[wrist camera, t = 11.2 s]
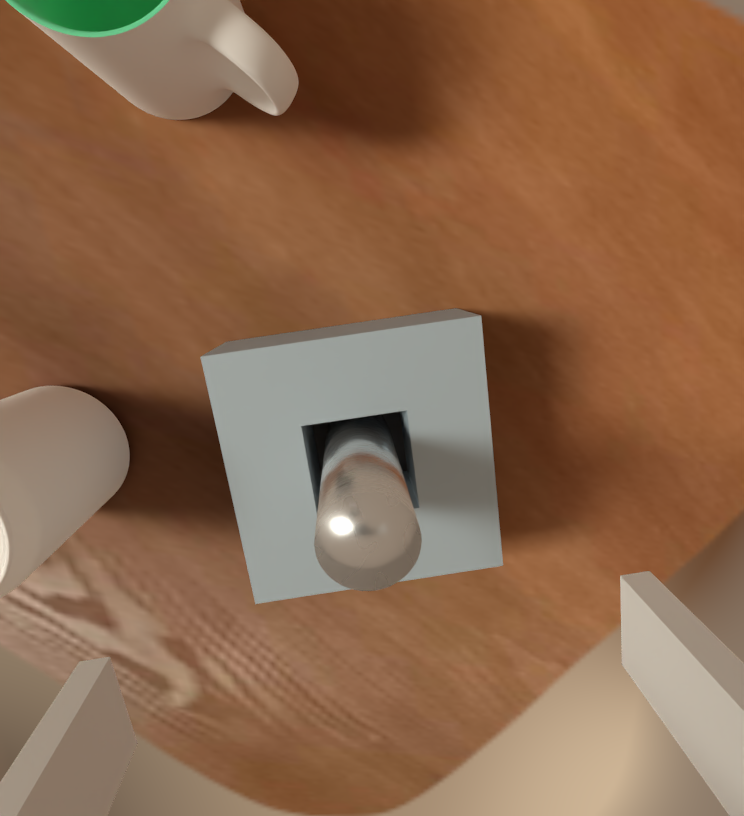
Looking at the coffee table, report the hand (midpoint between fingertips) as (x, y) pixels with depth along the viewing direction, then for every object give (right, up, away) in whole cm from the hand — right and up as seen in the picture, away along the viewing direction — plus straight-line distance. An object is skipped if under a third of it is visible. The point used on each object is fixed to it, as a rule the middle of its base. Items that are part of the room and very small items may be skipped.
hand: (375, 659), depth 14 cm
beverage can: (-19, +4, +20) cm, 28 cm away
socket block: (-1, +5, +20) cm, 21 cm away
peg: (-1, +5, +20) cm, 20 cm away
